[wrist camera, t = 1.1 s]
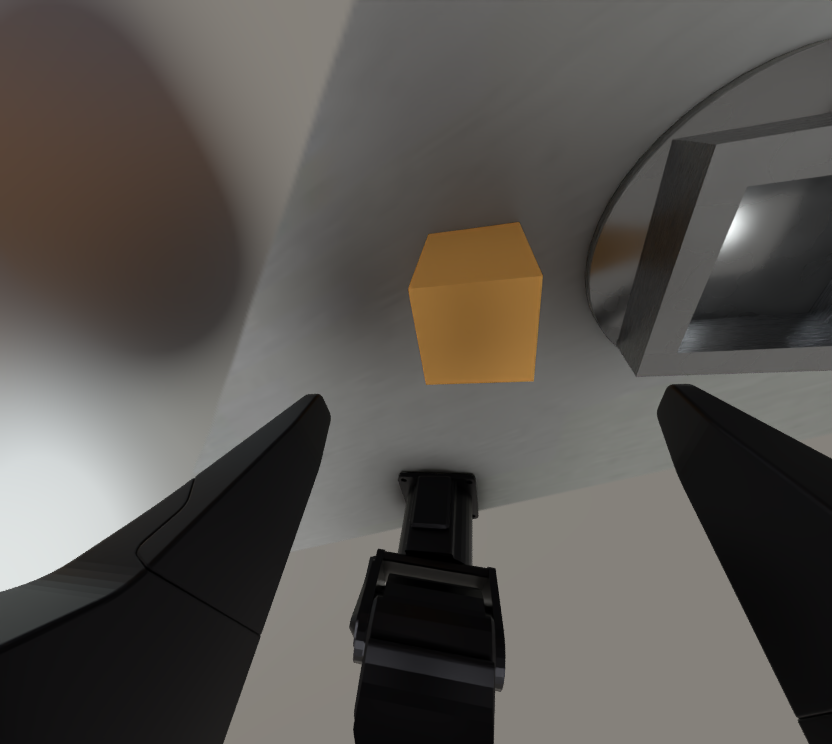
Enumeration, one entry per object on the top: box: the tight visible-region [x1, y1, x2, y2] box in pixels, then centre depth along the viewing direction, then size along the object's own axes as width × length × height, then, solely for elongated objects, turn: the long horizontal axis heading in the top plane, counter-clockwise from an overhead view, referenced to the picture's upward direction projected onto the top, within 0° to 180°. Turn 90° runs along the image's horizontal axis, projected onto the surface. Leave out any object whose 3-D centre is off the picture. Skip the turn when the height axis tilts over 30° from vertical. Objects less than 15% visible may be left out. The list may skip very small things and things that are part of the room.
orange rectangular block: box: [408, 222, 543, 385], centre depth 13 cm, size 4×4×6 cm
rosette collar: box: [585, 38, 832, 377], centre depth 12 cm, size 12×12×3 cm
